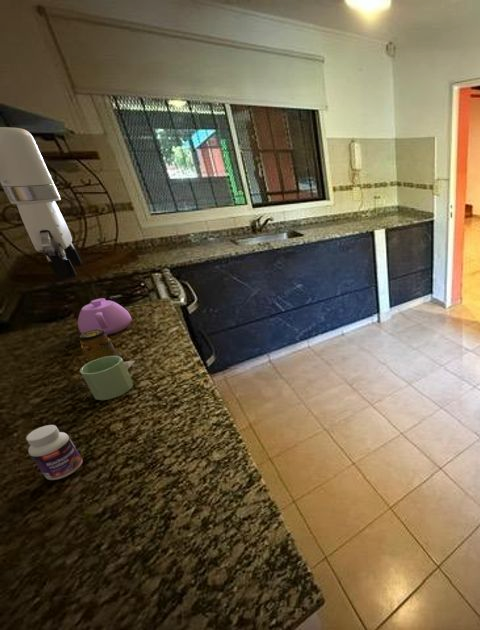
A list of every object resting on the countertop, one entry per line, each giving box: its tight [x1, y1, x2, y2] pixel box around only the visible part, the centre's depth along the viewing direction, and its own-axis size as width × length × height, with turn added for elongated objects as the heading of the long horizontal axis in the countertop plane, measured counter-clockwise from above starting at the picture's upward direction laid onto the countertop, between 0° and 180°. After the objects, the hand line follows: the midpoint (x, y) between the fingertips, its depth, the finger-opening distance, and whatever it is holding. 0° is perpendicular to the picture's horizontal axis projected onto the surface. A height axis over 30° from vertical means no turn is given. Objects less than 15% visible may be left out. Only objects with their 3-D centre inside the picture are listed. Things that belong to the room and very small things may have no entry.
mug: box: [79, 355, 134, 401], centre depth 87 cm, size 8×8×8 cm
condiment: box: [78, 329, 136, 370], centre depth 94 cm, size 7×8×12 cm
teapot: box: [77, 297, 132, 336], centre depth 117 cm, size 14×20×11 cm
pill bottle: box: [25, 424, 83, 481], centre depth 65 cm, size 5×5×10 cm
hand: (70, 271), depth 79 cm, fingers open, 9 cm apart
